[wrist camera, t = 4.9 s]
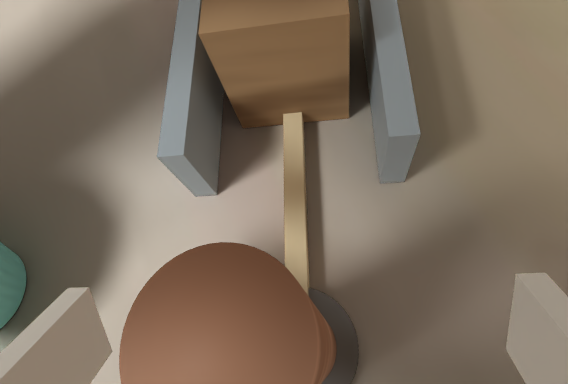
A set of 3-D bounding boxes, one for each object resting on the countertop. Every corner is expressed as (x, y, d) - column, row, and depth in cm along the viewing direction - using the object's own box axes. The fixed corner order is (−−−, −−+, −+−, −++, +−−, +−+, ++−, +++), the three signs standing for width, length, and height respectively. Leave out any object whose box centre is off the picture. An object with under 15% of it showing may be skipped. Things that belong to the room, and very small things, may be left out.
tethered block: (376, 413, 15) (442, 562, 4) (231, 411, 16) (0, 533, 5) (341, 35, 23) (336, -234, 12) (246, 47, 24) (164, -195, 13)
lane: (404, 181, 19) (420, 134, 15) (195, 196, 20) (156, 157, 16) (375, -16, 24) (380, -91, 20) (212, 7, 26) (187, -58, 22)
